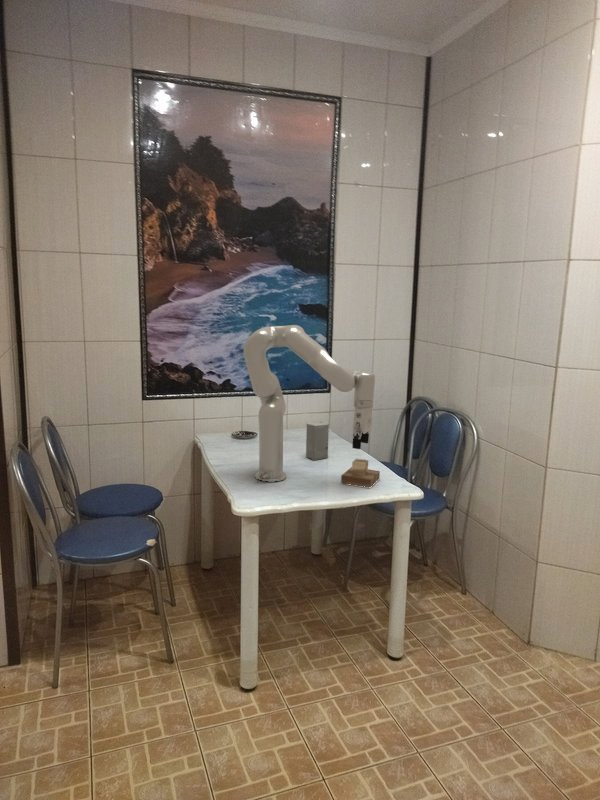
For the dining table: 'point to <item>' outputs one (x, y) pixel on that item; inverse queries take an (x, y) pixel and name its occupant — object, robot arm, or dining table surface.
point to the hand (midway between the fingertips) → (360, 445)
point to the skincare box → (317, 440)
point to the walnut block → (360, 478)
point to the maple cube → (360, 467)
